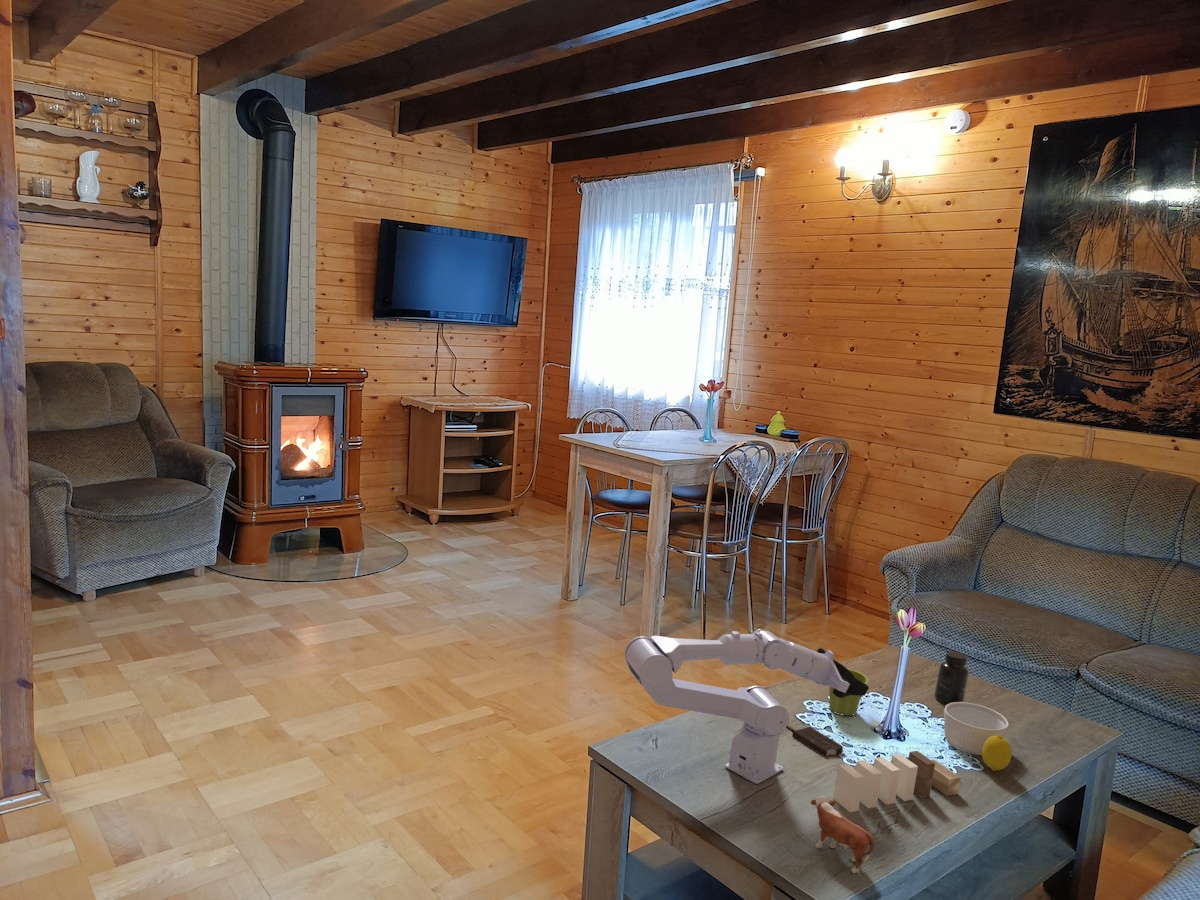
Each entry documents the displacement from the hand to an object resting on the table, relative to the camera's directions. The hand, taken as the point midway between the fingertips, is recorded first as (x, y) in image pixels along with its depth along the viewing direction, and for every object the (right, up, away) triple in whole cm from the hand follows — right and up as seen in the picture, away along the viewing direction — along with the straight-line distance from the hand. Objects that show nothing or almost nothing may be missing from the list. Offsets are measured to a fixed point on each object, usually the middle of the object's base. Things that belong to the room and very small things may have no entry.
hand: (855, 681), depth 178 cm
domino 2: (-2, -20, -11) cm, 23 cm away
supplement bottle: (+34, -15, +38) cm, 53 cm away
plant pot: (+5, -14, +26) cm, 30 cm away
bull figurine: (-12, -22, -29) cm, 38 cm away
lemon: (+31, -20, +5) cm, 37 cm away
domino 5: (+11, -20, -6) cm, 23 cm away
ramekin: (+31, -18, +16) cm, 39 cm away
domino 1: (-6, -20, -13) cm, 25 cm away
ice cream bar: (-7, -16, +11) cm, 20 cm away
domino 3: (+2, -20, -10) cm, 22 cm away
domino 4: (+6, -20, -8) cm, 22 cm away
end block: (+16, -20, -3) cm, 26 cm away
